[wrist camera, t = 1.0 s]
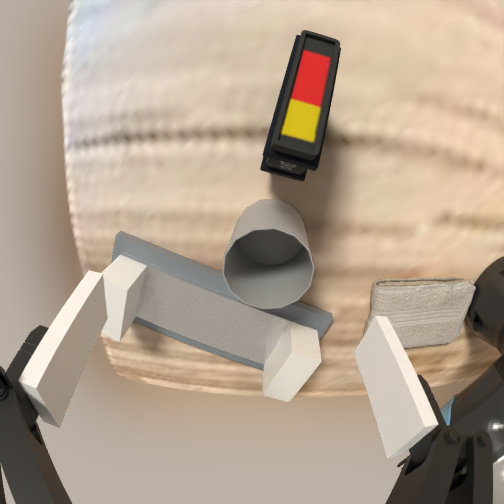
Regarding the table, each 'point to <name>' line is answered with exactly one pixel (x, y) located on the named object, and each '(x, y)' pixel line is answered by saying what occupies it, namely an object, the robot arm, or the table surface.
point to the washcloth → (422, 308)
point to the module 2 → (291, 362)
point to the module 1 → (122, 295)
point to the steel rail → (209, 315)
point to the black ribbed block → (302, 107)
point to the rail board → (211, 280)
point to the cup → (268, 256)
